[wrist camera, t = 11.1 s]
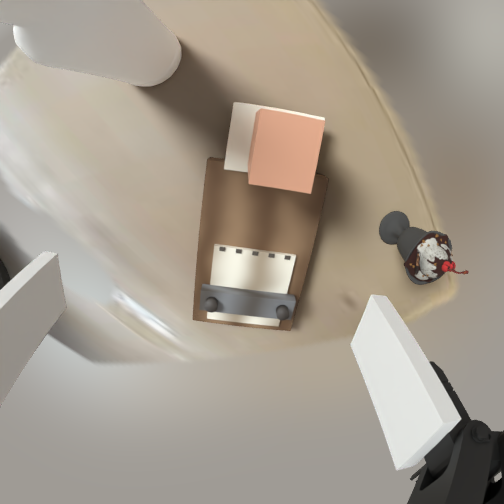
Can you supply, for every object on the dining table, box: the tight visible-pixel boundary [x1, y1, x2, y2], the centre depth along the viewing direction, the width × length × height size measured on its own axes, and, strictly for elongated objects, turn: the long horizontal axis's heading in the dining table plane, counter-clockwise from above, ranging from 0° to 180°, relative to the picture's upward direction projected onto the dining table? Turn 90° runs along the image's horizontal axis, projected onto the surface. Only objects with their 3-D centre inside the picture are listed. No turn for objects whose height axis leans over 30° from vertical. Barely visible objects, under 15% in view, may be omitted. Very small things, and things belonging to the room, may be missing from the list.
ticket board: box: [193, 157, 329, 331], centre depth 37 cm, size 14×22×6 cm, turn 171°
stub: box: [224, 102, 325, 194], centre depth 27 cm, size 10×8×10 cm
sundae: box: [379, 211, 468, 285], centre depth 32 cm, size 7×7×15 cm
